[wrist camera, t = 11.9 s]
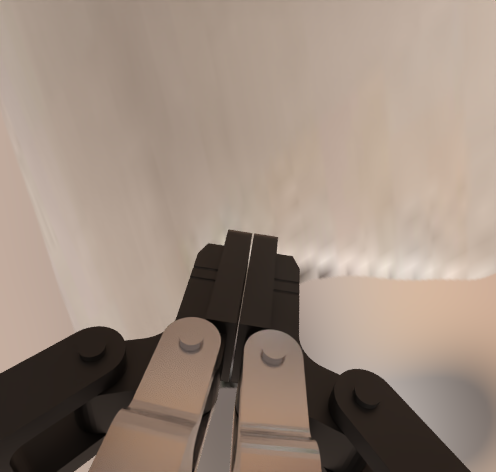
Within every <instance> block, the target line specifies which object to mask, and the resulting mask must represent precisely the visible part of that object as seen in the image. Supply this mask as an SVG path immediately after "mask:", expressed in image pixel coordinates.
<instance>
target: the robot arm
mask: <svg viewBox="0 0 496 472" xmlns="http://www.w3.org/2000/svg"><path fill="white" fill-rule="evenodd" d="M251 238H252V233H247V232H241V231H234V230H228V233H227V237H226V241H225V245H224V246H222V245H216V244H207V245H206V246H205V247H204V248H203V249H202V250H201V251H200V252H199V253H198V255H197V258H196V261H195V264H194V268H193V270H192V273H191V276H190V279H189V282H188V285H187V288H186V291H185V294H184V297H183V300H182V303H181V306H180V309H179V312H178V315H177V317H176V320H175V321H174V322H173V323H171V324H170V325H169V326H168V327H167V328H166V329H165V331H164V332H162V333H161V334H158V335H156V336H153V337H150V338H144V339H136V340H127V341H124V339H123V337H122V336H121V334H119V333H118V332H117V331H115V330H114V329H111V328H108V327H100V326H98V327H90V328H86V329H83V330H81V331H78V332H76V333H75V334H73V335H71V336H69V337H67V338H65V339H64V340H62V341H60V342H58V343H56V344H54V345H53V346H51V347H49V348H47V349H45V350H43V351H41V352H39V353H38V354H36V355H34V356H32V357H30V358H28V359H26V360H25V361H23V362H21V363H19V364H17V365H15V366H14V367H12V368H10V369H8V370H6V371H4V372H3V373H0V472H74V471H75V470H77V469H78V468H79V467H81V466H82V465H83V464H85V463H86V462H87V461H89V460H90V459H91V458H93V457H94V456H95V455H96V457H95V459H94V461H93V463H92V465H91V467H90V469H89V471H88V472H196V471H197V467H198V464H199V460H200V456H201V453H202V449H203V445H204V441H205V438H206V435H207V431H208V427H209V423H210V420H211V416H212V413H213V408H214V405H215V403H216V400H217V397H218V391H219V386H220V381H226V382H228V380H229V374H230V368H231V362H232V357H233V351H234V345H235V339H236V333H237V327H238V321H239V315H240V309H241V303H242V297H243V291H244V285H245V279H246V272H247V266H248V259H249V252H250V245H251ZM277 242H278V237H274V236H267V235H261V234H255V233H254V238H253V244H252V250H251V256H250V262H249V268H248V274H247V280H246V286H245V292H244V298H243V304H242V310H241V316H240V322H239V329H238V336H237V343H236V350H235V356H234V363H233V370H232V377H231V382H233V383H238V387H237V394H236V402H235V407H234V414H233V428H232V444H231V458H230V472H471V471H470V470H469V469H468V468H467V467H466V466H465V465H464V464H463V463H462V462H461V461H460V460H459V459H458V458H457V457H456V456H455V454H454V453H453V452H452V451H451V450H450V449H449V448H448V447H447V446H446V445H445V444H444V443H443V442H442V441H441V440H440V439H439V438H438V436H437V435H436V434H435V433H434V432H433V431H432V430H431V429H430V428H429V427H428V426H427V425H426V424H425V423H424V422H423V420H422V419H421V418H420V417H419V416H418V415H417V414H416V413H415V412H414V411H413V410H412V409H411V408H410V407H409V406H408V405H407V403H406V402H405V401H404V400H403V399H402V398H401V397H400V396H399V395H398V394H397V393H396V392H395V391H394V390H393V389H392V387H390V385H389V384H388V383H387V382H385V380H384V379H382V378H381V377H379V376H378V375H376V374H374V373H372V372H370V371H366V370H361V369H352V370H348V371H345V372H344V373H342V374H341V375H339V374H337V373H334V372H332V371H330V370H328V369H326V368H324V367H322V366H319V365H318V364H317V363H315V362H314V361H312V360H311V359H310V358H309V357H308V356H307V355H306V353H305V352H304V350H303V349H302V347H301V345H300V341H299V272H300V269H299V267H298V265H297V263H296V262H295V260H294V258H293V256H287V255H280V254H277Z"/></svg>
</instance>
